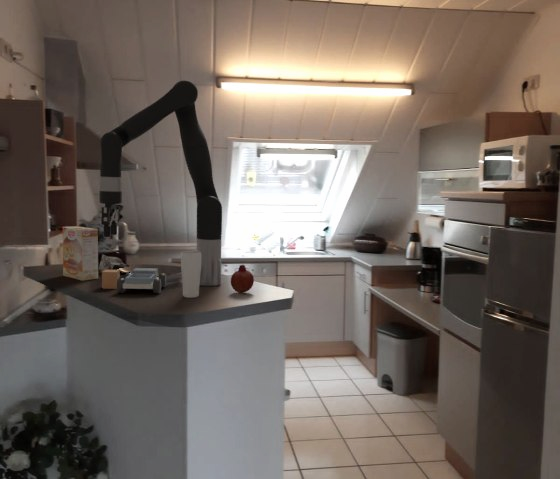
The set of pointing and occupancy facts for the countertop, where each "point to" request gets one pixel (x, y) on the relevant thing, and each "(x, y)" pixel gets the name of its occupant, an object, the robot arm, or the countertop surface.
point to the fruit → (242, 280)
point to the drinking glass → (191, 273)
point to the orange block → (110, 279)
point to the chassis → (142, 280)
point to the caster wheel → (111, 263)
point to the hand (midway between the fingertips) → (110, 235)
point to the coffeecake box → (80, 253)
